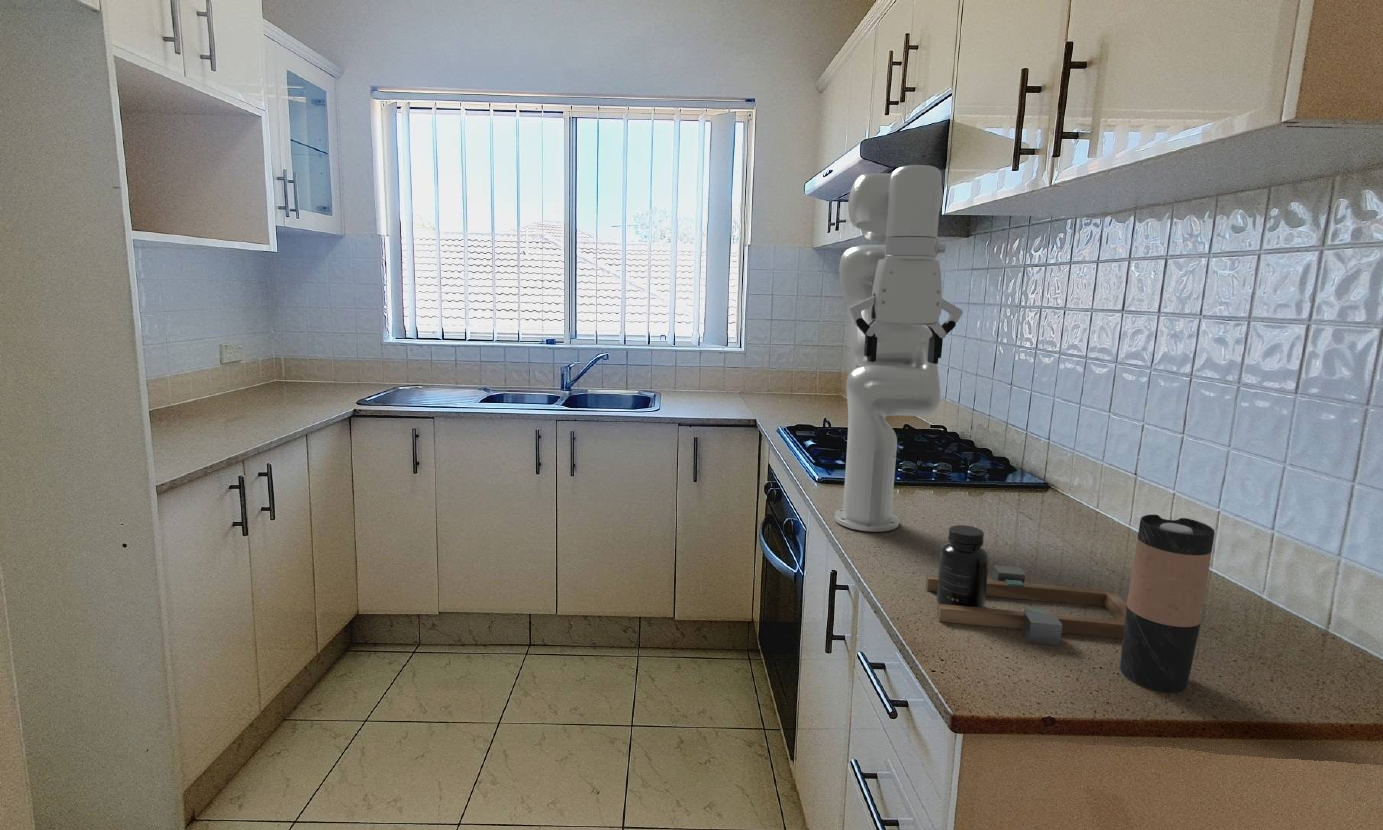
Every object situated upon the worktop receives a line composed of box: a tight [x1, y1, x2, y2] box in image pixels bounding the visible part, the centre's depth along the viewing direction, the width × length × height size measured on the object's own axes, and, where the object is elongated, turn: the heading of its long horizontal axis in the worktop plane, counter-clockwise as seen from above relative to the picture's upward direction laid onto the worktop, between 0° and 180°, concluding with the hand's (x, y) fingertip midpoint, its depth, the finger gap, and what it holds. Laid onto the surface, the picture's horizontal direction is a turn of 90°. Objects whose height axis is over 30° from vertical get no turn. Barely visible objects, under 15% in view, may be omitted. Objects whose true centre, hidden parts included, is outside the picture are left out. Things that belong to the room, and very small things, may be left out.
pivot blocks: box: [991, 564, 1063, 647], centre depth 107 cm, size 20×4×3 cm, turn 171°
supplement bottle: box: [936, 524, 990, 608], centre depth 107 cm, size 7×7×12 cm
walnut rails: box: [925, 574, 1127, 639], centre depth 107 cm, size 12×28×2 cm, turn 81°
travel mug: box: [1119, 513, 1216, 694], centre depth 88 cm, size 8×8×20 cm
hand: (901, 362), depth 113 cm, fingers open, 9 cm apart
